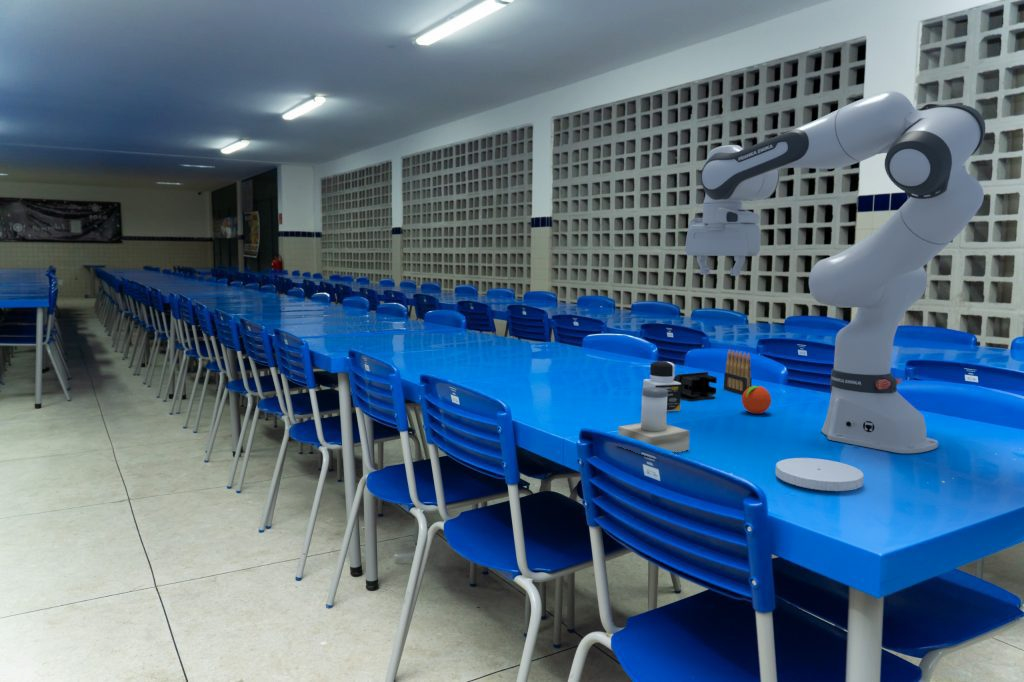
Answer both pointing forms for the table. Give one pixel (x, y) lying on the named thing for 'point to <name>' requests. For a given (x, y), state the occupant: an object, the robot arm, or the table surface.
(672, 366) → the medicine bottle
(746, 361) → the ammunition clip
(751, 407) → the clementine
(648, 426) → the salt shaker
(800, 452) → the table surface
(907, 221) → the robot arm
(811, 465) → the plastic lid
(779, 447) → the table surface
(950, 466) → the table surface
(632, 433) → the plinth
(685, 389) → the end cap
